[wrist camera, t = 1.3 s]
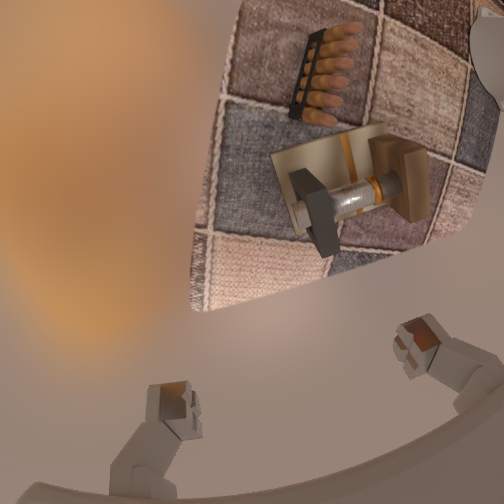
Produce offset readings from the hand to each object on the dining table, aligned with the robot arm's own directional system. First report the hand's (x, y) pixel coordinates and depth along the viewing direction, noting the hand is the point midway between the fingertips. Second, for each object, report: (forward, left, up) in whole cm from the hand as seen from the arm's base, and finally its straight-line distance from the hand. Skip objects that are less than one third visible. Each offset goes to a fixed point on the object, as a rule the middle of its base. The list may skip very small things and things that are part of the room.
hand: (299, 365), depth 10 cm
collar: (-5, +5, -24) cm, 25 cm away
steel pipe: (-10, +5, -22) cm, 25 cm away
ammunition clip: (-10, -8, -27) cm, 30 cm away
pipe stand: (-11, +5, -27) cm, 29 cm away
